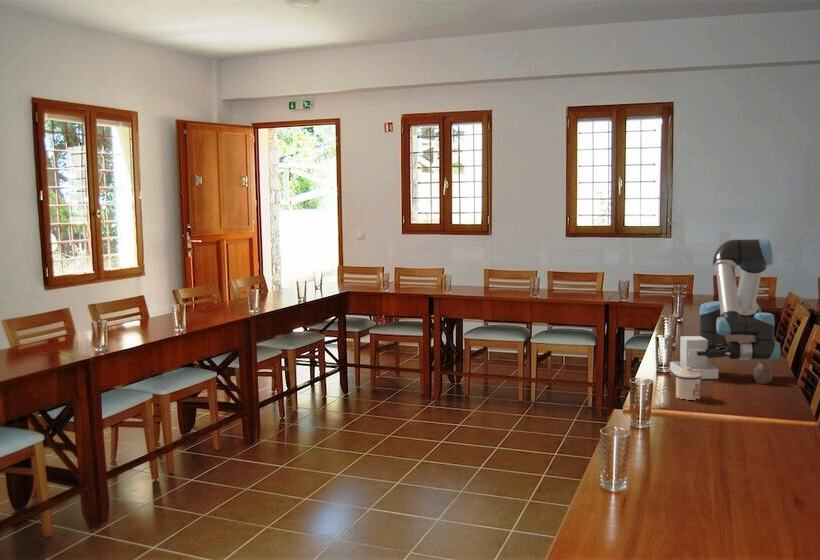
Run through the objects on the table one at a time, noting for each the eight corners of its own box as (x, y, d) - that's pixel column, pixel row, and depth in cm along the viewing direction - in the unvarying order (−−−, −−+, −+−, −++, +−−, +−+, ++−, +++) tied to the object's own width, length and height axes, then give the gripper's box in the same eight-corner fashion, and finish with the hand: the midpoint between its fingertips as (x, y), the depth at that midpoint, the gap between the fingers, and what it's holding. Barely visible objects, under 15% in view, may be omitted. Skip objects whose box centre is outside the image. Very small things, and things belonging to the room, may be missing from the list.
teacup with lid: (697, 402, 274) (698, 371, 273) (672, 399, 279) (672, 368, 278) (705, 394, 284) (705, 364, 282) (680, 391, 289) (680, 362, 287)
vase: (768, 380, 302) (769, 359, 301) (775, 385, 295) (775, 363, 294) (750, 380, 302) (751, 359, 301) (757, 385, 295) (757, 363, 294)
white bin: (669, 370, 322) (669, 361, 322) (704, 370, 322) (704, 361, 322) (681, 379, 307) (681, 369, 307) (718, 378, 307) (718, 369, 307)
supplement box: (707, 374, 310) (708, 339, 309) (686, 375, 311) (686, 340, 309) (700, 369, 320) (701, 335, 318) (679, 370, 320) (680, 336, 318)
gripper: (746, 365, 298) (690, 364, 302) (731, 352, 323) (680, 352, 327) (746, 347, 298) (691, 346, 302) (732, 335, 322) (680, 335, 326)
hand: (685, 349), depth 314 cm, fingers open, 13 cm apart
